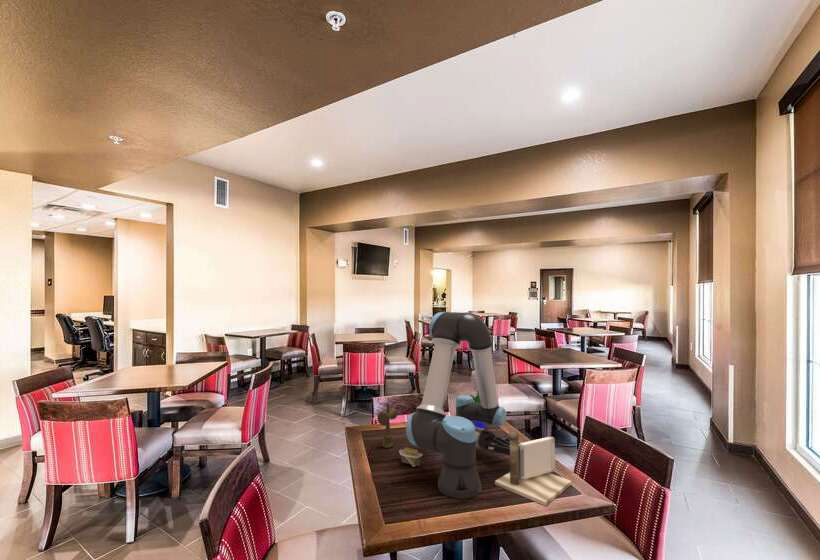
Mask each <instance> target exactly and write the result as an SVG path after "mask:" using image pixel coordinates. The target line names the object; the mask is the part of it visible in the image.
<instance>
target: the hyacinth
mask: <svg viewBox="0 0 820 560" xmlns="http://www.w3.org/2000/svg"><path fill="white" fill-rule="evenodd" d="M470 379H471V380H470V382H471V386H472V387H471V388H472V389H473V391H474V392H476V393H477V394H476V396H474V395H473V394H469V395H468V396H471V397H472V398H473V402H475V403H480V398H479V391H478V385H477V379H476V373H475V369H474V370H472V371H471V377H470ZM473 424H474V426H475V427H479V428H482V429H485V430H486V424H487V423H482V422H477V421H473Z"/></svg>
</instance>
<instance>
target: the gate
mask: <svg viewBox="0 0 820 560" xmlns="http://www.w3.org/2000/svg"><path fill="white" fill-rule="evenodd" d="M555 440H556V439H555V437H553V436H546V437H542V438H539V439H533V440H529V441H525V442H519V444H518V448H519V480H524V479H528V478H531V477H535V476H538V475H542V474H545V473H553V472H555V471H556V448H555V444H556V443H555Z"/></svg>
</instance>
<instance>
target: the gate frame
mask: <svg viewBox="0 0 820 560" xmlns="http://www.w3.org/2000/svg"><path fill="white" fill-rule="evenodd" d="M508 438H509V439H510V455H509V472H508V473H506V474H504V475H503V476H501V477H499V478H498V479H496V480H495V481H494V484H495V486H498V487H500V488H502V489H504V490H507V491H509V492H512V493H514V494H516V495H519V496H521V497H524V498H525V499H529V500H530V501H532V502H536V503H538V504H540V505H543V506H545V507H547V505H549V504H550V503H552V501H554V500H555V499H556V498H558V497H559V496H560V495H561V494H562V493H563V492H564V491H565V490H567V489H569V487H570V486H572V483H573V482H572V480H569V479H567V478H566V477H565V478H564V477H562V476H559V475H556V474H553V473H552V472H549V473H545V474H542V475H538V476H535V477H531V478H528V479H524V480H519V448H518V442H519V438H520V434H519V432H517V431H516V430H511V431H509V433H508Z"/></svg>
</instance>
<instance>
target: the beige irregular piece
mask: <svg viewBox="0 0 820 560" xmlns="http://www.w3.org/2000/svg"><path fill="white" fill-rule="evenodd" d="M418 450H419V449H414V448H409V447H404V448H403V449H399V450H398V452H399V455H400V456H401V463H403V464H409V465H411V466H412V467H413V468H414V467H416V466H418V467H420V466H421V465H420V464H421V461H420V460H421V458H422V457H423V453H422V452H418Z"/></svg>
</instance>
